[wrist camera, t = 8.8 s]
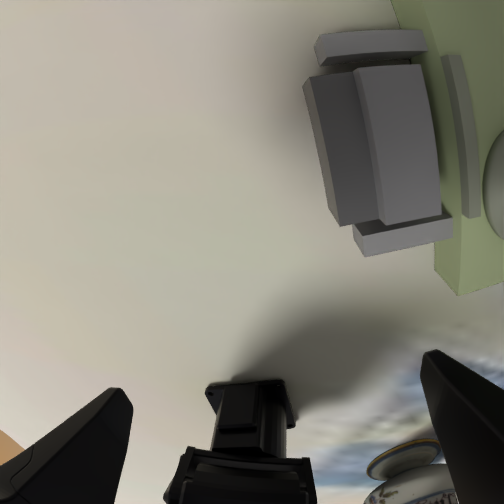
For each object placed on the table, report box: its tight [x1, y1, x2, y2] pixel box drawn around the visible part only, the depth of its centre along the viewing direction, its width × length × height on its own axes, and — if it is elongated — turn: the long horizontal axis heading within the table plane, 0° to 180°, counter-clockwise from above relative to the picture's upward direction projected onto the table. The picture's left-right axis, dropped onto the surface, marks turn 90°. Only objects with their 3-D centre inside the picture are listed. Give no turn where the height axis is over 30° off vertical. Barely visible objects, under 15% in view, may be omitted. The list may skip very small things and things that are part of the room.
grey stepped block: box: [302, 64, 442, 227], centre depth 14 cm, size 7×5×4 cm
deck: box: [314, 0, 504, 296], centre depth 13 cm, size 18×14×4 cm
